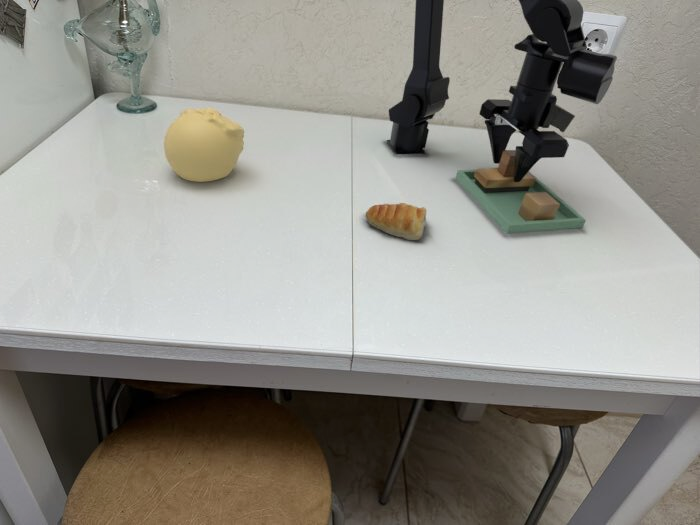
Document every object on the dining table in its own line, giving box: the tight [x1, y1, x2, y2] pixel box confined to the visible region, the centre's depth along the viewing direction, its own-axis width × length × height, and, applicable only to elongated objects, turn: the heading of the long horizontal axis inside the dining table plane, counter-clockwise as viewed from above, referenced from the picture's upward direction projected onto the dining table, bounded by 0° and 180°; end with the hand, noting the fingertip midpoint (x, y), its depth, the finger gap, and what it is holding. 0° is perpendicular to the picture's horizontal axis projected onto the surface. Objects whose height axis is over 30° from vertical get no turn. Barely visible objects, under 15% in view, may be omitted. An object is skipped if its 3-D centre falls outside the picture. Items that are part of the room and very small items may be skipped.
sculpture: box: [163, 107, 245, 183], centre depth 80 cm, size 12×12×11 cm
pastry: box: [365, 202, 427, 241], centre depth 76 cm, size 9×7×4 cm
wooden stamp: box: [474, 149, 537, 193], centre depth 88 cm, size 10×4×7 cm, turn 106°
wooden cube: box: [518, 192, 560, 221], centre depth 81 cm, size 4×4×4 cm
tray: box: [455, 169, 586, 234], centre depth 86 cm, size 15×19×2 cm
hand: (506, 172), depth 89 cm, fingers open, 7 cm apart
